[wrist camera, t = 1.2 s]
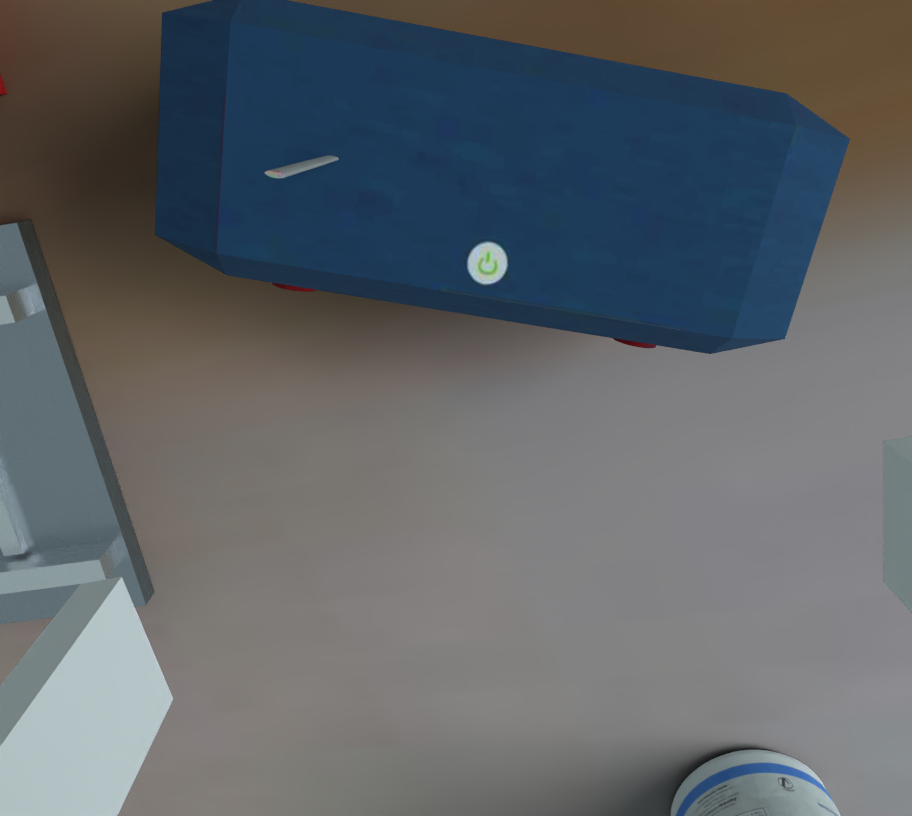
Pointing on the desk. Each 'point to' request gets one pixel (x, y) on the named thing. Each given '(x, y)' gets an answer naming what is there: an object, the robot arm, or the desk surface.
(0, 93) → the puzzle toy
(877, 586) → the desk surface
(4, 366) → the rail plate
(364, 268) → the radio
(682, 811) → the supplement tub
